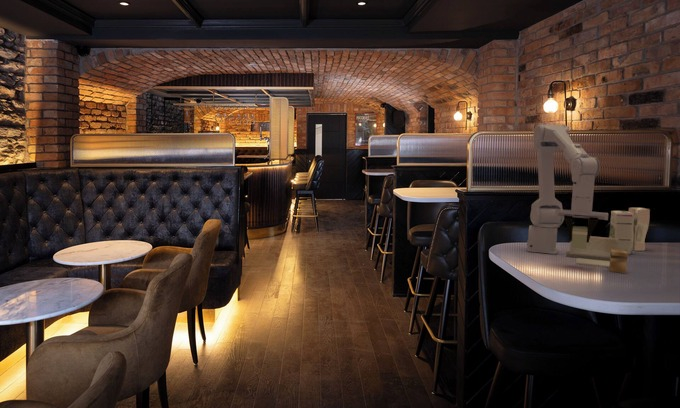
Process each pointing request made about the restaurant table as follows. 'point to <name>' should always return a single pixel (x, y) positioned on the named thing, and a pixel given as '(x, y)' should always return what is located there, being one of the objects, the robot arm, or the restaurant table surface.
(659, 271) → the restaurant table surface
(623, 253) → the oak block
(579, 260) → the pad
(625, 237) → the syrup box
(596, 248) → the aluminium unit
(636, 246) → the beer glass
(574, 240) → the sage block
